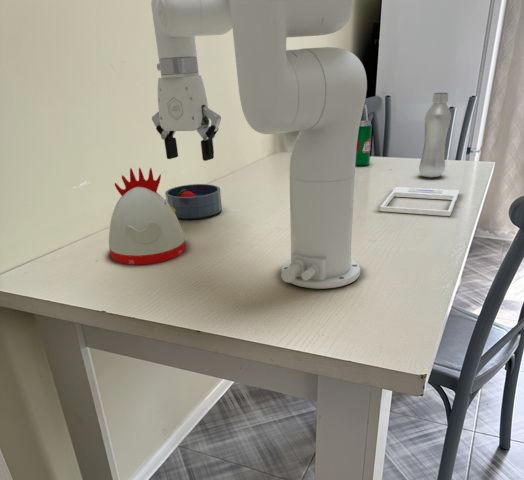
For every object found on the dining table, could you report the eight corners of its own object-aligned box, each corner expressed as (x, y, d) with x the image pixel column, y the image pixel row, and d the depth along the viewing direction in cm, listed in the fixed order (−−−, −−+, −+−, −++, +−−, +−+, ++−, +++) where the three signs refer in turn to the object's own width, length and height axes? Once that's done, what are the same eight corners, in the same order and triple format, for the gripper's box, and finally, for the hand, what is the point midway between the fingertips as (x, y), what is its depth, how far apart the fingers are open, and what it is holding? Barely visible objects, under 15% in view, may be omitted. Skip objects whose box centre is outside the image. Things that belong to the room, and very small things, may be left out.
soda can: (365, 167, 150) (367, 122, 143) (349, 165, 152) (351, 122, 146) (372, 163, 153) (374, 120, 147) (356, 162, 156) (358, 119, 149)
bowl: (201, 223, 109) (198, 199, 107) (157, 217, 115) (154, 194, 112) (232, 208, 118) (230, 186, 116) (190, 203, 124) (187, 182, 121)
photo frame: (459, 189, 119) (450, 210, 105) (458, 194, 119) (450, 216, 105) (396, 185, 124) (379, 205, 110) (395, 190, 125) (379, 211, 111)
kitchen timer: (186, 260, 91) (175, 173, 83) (108, 268, 89) (89, 180, 82) (184, 235, 103) (174, 157, 95) (114, 242, 101) (98, 163, 93)
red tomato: (191, 201, 113) (179, 188, 114) (184, 214, 116) (172, 201, 116) (202, 198, 116) (190, 185, 117) (195, 211, 119) (183, 198, 119)
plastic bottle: (446, 175, 137) (458, 92, 126) (439, 180, 132) (450, 94, 121) (422, 173, 140) (431, 91, 129) (414, 178, 135) (423, 94, 124)
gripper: (133, 71, 103) (148, 160, 111) (203, 67, 95) (212, 163, 103) (158, 69, 108) (170, 154, 117) (225, 65, 100) (233, 157, 109)
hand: (190, 158), depth 110 cm, fingers open, 9 cm apart
